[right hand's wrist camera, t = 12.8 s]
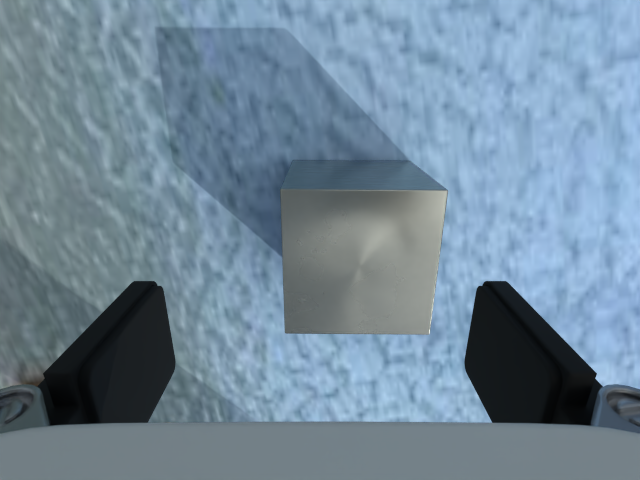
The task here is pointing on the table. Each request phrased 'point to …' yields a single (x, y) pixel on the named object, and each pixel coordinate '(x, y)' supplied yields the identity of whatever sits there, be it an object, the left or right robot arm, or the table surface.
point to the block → (360, 246)
